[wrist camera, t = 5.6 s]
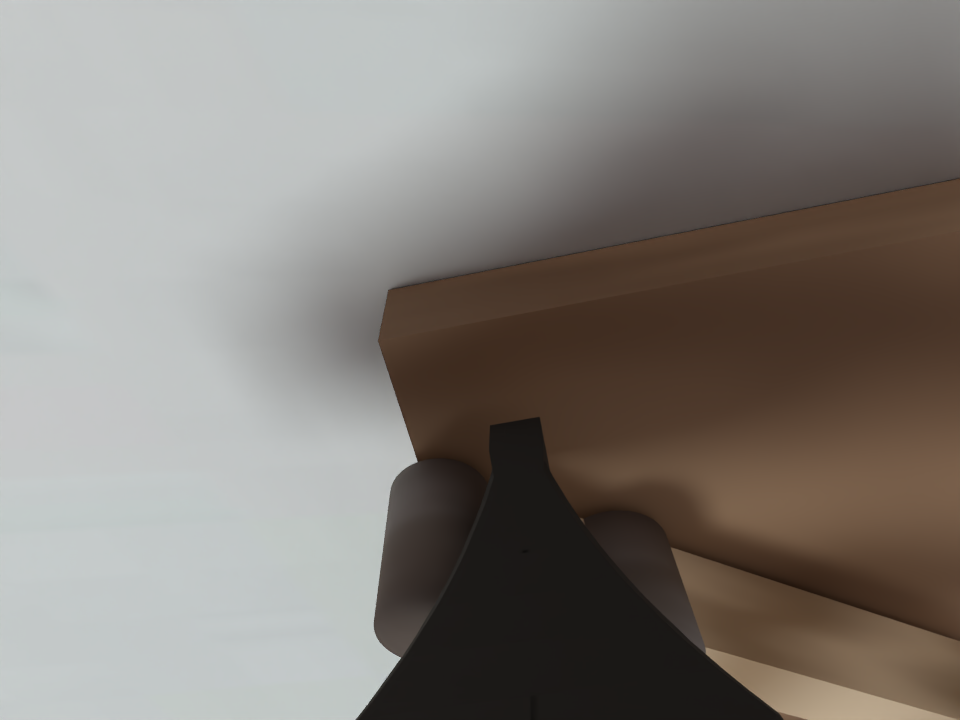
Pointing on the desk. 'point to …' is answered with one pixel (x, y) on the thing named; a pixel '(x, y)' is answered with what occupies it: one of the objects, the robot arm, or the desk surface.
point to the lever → (688, 609)
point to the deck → (728, 390)
